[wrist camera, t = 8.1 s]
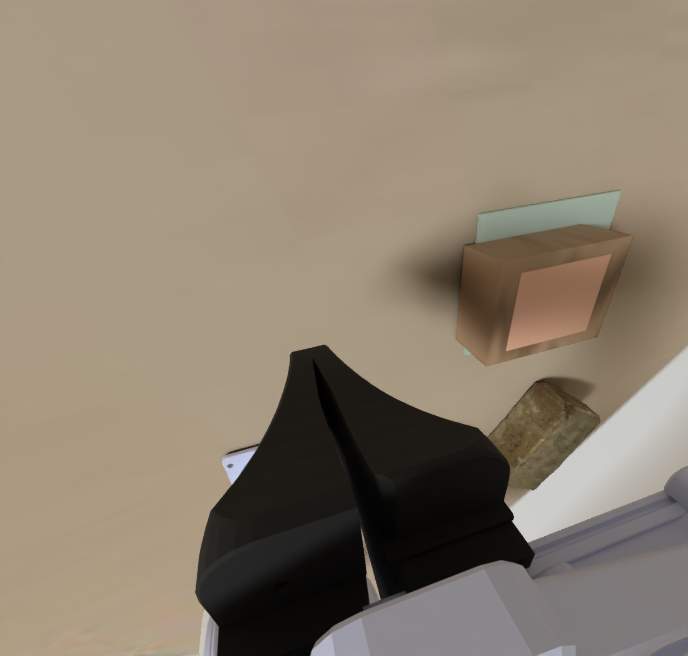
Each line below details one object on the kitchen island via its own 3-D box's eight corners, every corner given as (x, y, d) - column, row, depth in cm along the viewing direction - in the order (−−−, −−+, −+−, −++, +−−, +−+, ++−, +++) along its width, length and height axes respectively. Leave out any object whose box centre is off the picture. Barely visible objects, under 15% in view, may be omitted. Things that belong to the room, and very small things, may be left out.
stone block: (566, 387, 35) (609, 419, 31) (502, 459, 39) (533, 497, 35) (535, 374, 33) (577, 408, 28) (469, 453, 36) (498, 492, 32)
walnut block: (455, 339, 27) (555, 315, 28) (486, 366, 23) (597, 337, 25) (464, 245, 23) (580, 223, 24) (503, 262, 19) (634, 235, 21)
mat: (575, 325, 30) (578, 326, 30) (463, 354, 28) (464, 355, 28) (617, 190, 24) (621, 190, 24) (478, 213, 22) (481, 214, 22)
